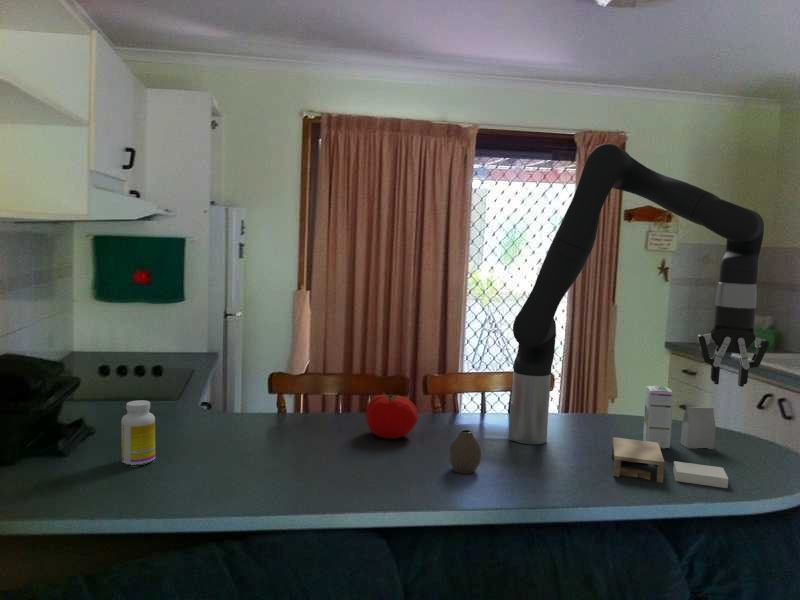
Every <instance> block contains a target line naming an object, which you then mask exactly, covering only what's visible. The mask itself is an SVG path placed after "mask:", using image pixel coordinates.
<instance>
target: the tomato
mask: <svg viewBox="0 0 800 600" xmlns="http://www.w3.org/2000/svg"><path fill="white" fill-rule="evenodd" d="M381 393H382V394H378V395H376V396H374V397H373V398H372V399H371V400H370V401H369V403H368V405H367V407H366V409H365V410H366V411H365V419H366V423H367V426H368V428H369V431H370V432H371V433H373V435H376V436H377V437H380V438H383V439H394V438H395V439H398V438H401V437H404V436H406V435H408V434H409V433H411V431H412V430H413V429H414V428H415V426H416V424H417V423H418V419H419V415H418V410H417V407H416V405H415V404H414V403H413V401H411V400H410V399H408V398H406V397H404V396H401V395H399V394H396V395H393V394H386V393H385V392H383V391H381Z"/></svg>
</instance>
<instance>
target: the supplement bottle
mask: <svg viewBox="0 0 800 600" xmlns="http://www.w3.org/2000/svg"><path fill="white" fill-rule="evenodd" d="M125 408H126V409H125V410H126V411H127V413H126V414H125V415H123V416H122V418H121V420H120V421H121V423H120V424H121V463H122V462H123V463H126V464H131V465H134V464H135V465H136V464H143V463H147V462H150V461H152V460H154V459H155V460H156V417H155V415H154V414H153V413H151V412H150V409H151V402H150V401H149V400H142V399H141V400H138V399H137V400H132V401H131V400H130V401H128V402H127V403H126V405H125ZM155 460H154V461H155ZM123 463H122V464H123Z"/></svg>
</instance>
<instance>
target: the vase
mask: <svg viewBox="0 0 800 600" xmlns="http://www.w3.org/2000/svg"><path fill="white" fill-rule="evenodd" d="M448 459H449V464H450V467H452V469H453V470H454V471H455V472H456V473H459V474H463V475H464V474H465V475H466V474H472V473H474V472H475V471H476V470H477V469H478V467H479V466H480V462H481V459H482V451H481V447H480V444H479V442H478V441H477V438H475V436H474V435H473V432H472V430H469V429H462V430H460V431H459V433H458V434H457V436H456V437H455V438H454V439H453V441H452V442H451V444H450V446H449V449H448Z"/></svg>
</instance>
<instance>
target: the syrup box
mask: <svg viewBox="0 0 800 600" xmlns="http://www.w3.org/2000/svg"><path fill="white" fill-rule="evenodd" d="M673 399H674V392H673V391H672V390H671V388H669V387H668V386H660V385H646V387H645V399H644V400H645V402H644V413H643V414H644V417H643V433H642V441H649V442H658V444H659V447H660V449H665V448H669V449H670V447H671V435H672V420H673V419H672V417H673V401H674V400H673Z"/></svg>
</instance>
